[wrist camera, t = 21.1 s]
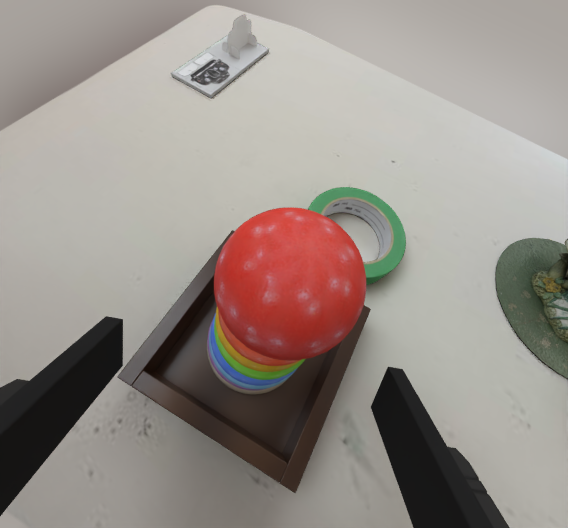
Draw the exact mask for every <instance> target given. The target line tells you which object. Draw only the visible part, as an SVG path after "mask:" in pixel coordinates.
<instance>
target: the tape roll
mask: <svg viewBox="0 0 568 528" xmlns="http://www.w3.org/2000/svg"><path fill="white" fill-rule="evenodd" d="M308 210H311V211H314V212H317V213H319V214H321V215H323V216H328V215H330V214H333V213H338V212H346V213H351V214H354V215H357V216H359V217H360V218H362V219H364V220H365V221H366V222H368V223H369V224H370V226H371V227H372V228H373V229H374V230H375V232H376V234H377V237H378V239H379V242H380V253H379V256H378V258H377V260H374V261H369V262H363V264H364V268H365V273H366V285H369V284H372V283H374V282H376V281H378V280H379V279H381V278H382V277H384V276H385V275H386V274H388V273H389V272H390V271H392V270H393V269H394V268H395V267H396V266H397V265H398V264H399V262H400V261H401V259H402V257H403V255H404V251H405V246H406V238H405V232H404V229H403V226H402V224H401V221H400V220H399V218H398V216H397V215H396V213H395V212H394V211H393V210H392V208H391V207H390V206H389V205H388V204H386V203H385V202H384V201H382V200H381V199H380V198H378V197H377V196H375V195H373V194H371V193H370V192H367V191H364V190H361V189H357V188H350V187H340V188H334V189H331V190H328V191H326V192H324V193H322V194H320V195H319V196H318V197H316V199H315V200H314V201H313V202H312V203H311V205H310V207H309V209H308Z"/></svg>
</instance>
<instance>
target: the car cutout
mask: <svg viewBox="0 0 568 528" xmlns="http://www.w3.org/2000/svg"><path fill="white" fill-rule="evenodd" d="M268 52H269V48H267V47H265V46H263V45H261V44H259V43H257V39H256V37H255V36H254V35H252V32H251V20H249V19H248V20H247V19H246V15H245V14H243V15H241V16H239V17H238V18H237V19H236V20H235V21H234V23H233V28H232V31H230V33H229V34H228V35H227V36H225V37H224V38H222V39H221V40H219V41H218V42H216V43H215V44H213V45H212V46H210V47H209V48H207V49H206V50H205V51H203V52H202V53H200V54H199V55H197V56H196V57H194V58H193V59H191V60H190V61H188V62H187V63H185V64H184V65H182V66H181V67H179V68H178V69H176V70H175V71H173V72H172V73H171V75H172V77H174V78H176V79H177V80H179V81H181V82H183V83H185V84H186V85H188V86H190V87H192V88H194V89H195V90H197V91H199V92H201V93H203V94H205V95H206V96H208V97H210V98H212V97H213V96H214V95H216V94H217V93H218V92H219V91H221V90H222V89H223V88H224V87H226V86H227V85H228V84H229V83H231V82H232V81H233V80H234V79H235V78H237V77H238V76H239V75H240V74H242V73H243V72H244V71H245V70H247V69H248V68H249V67H250V66H252V65H253V64H254V63H255V62H257V61H258V60H259V59H260V58H262V57H263V56H264V55H265V54H267V53H268Z"/></svg>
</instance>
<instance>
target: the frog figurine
mask: <svg viewBox="0 0 568 528" xmlns="http://www.w3.org/2000/svg"><path fill="white" fill-rule="evenodd" d="M496 285H497V293H498V298H499V300H500V303H501V305H502V308H503V310H504V312H505V314H506V316H507V318H508V320H509V322H510V324H511V325H512V327H513V329H514V330H515V332H516V334H517V335H518V336H519V338H520V339H521V340H522V341H523V342H524V343H525V345H526V346H527V347H528V348H529V349H530V350H531V351H532V352H533V353H534V354H535V355H536V356H537V357H538V358H539V359H540V360H541V361H543V362H544V363H545V364H546V365H548V366H549V367H550V368H552V369H553V370H555V371H556V372H558V373H559V374H561V375H563V376H564V377H566V378H568V239H567V240H566V241H565V245H563V244H561V243H559V242H555V241H552V240H548V239H540V238H528V239H523V240H520V241H517V242H515V243H513V244H511V245H510V246H509V247H508V248H507V249H506V250H505V251H504V252H503V253H502V255H501V257H500V258H499V261H498V264H497V270H496Z"/></svg>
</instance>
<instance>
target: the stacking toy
mask: <svg viewBox="0 0 568 528" xmlns="http://www.w3.org/2000/svg"><path fill="white" fill-rule="evenodd" d="M214 294H215V299H216V304H217V309H216V313H215V315H214V318H213V320H212V322H211V325H210V328H209V332H208V339H207V354H208V359H209V362H210V365H211V367H212V369H213V371H214V373H215V375H216V376H217V377H218V378H219V380H220V381H221V382H222V383H223V384H225V385H226V386H227V387H229V388H231V389H233V390H234V391H237V392H240V393H243V394H263V393H267V392H270V391H272V390H274V389H276V388H278V387H279V386H281V385H282V384H283V383H284V382H285V381H286V380H287V379H288V378H289V377H290V376H291V375H292V374H293V373H294V372H295V371H296V370H297V368H298V367H299V366H300V365H301V364H302V363H303V362H304V360H305V359H307V358H312V357H315V356H317V355H320V354H322V353H325V352H327V351H329V350H330V349H332V348H333V347H335V346H336V345H337V344H338V343H340V342H341V341H342V340H343V339H344V338H345V337H346V336H347V335H348V334H349V332H350V331H351V330H352V329H353V327H354V325H355V324H356V322H357V320H358V318H359V316H360V314H361V311H362V309H363V306H364V301H365V294H366V273H365V268H364V264H363V261H362V257H361V255H360V253H359V250H358V248H357V247H356V245H355V243H354V242H353V240H352V239H351V238H350V236H349V235H348V234H347V233H346V232H345V231H344V230H343V229H342V228H341V227H340V226H339V225H338V224H337V223H335V222H334V221H333V220H331V219H329V218H328V217H326V216H323V215H321V214H319V213H317V212H314V211H311V210H306V209H302V208H277V209H273V210H268V211H266V212H263V213H261V214H258V215H256V216H254V217H252V218H250V219H249V220H247V221H246V222H244V223H243V224H242V225H241V226H240V227H239V228H238V229H237V230H236V231H235V232H234V233H233V234H232V235H231V236H230V238H229V239H228V240H227V242H226V243H225V245H224V246H223V248H222V251H221V253H220V255H219V257H218V260H217V264H216V268H215V274H214Z"/></svg>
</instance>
